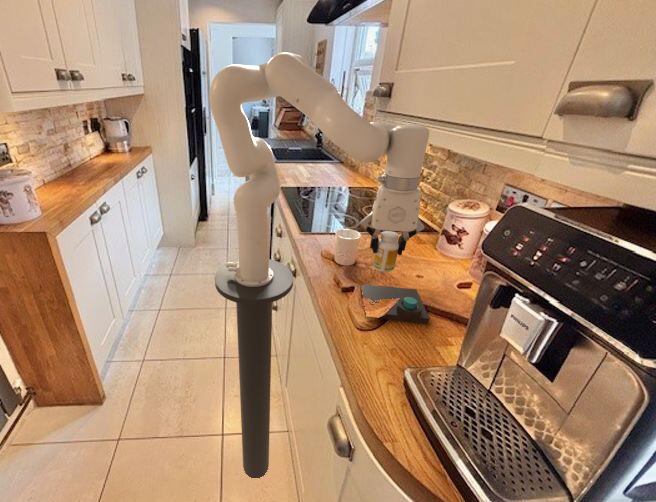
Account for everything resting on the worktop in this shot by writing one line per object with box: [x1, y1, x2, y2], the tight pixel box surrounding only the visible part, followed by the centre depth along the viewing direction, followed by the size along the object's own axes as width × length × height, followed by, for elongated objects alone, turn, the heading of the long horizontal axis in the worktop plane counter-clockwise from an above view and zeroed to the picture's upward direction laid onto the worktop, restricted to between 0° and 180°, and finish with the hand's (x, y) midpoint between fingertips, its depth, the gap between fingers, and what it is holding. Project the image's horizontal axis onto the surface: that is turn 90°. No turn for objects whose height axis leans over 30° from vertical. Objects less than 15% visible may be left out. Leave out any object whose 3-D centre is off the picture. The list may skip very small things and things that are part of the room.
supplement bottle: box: [372, 230, 399, 273], centre depth 83 cm, size 5×5×10 cm
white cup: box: [333, 228, 362, 266], centre depth 107 cm, size 8×8×10 cm
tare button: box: [403, 297, 417, 309], centre depth 82 cm, size 3×3×2 cm
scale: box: [360, 284, 430, 325], centre depth 87 cm, size 15×14×4 cm
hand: (386, 251), depth 83 cm, fingers closed on supplement bottle, 5 cm apart
